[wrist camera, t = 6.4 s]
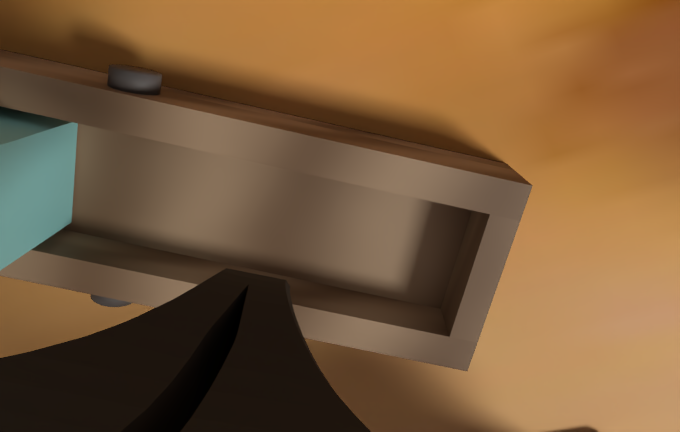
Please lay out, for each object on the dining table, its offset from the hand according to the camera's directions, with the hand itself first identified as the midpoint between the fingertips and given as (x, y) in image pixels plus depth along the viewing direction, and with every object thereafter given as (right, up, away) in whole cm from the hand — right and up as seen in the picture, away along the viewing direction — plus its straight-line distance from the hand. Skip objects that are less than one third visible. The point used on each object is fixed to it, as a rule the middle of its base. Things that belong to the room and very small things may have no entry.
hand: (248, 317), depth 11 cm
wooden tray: (-6, +3, +9) cm, 11 cm away
